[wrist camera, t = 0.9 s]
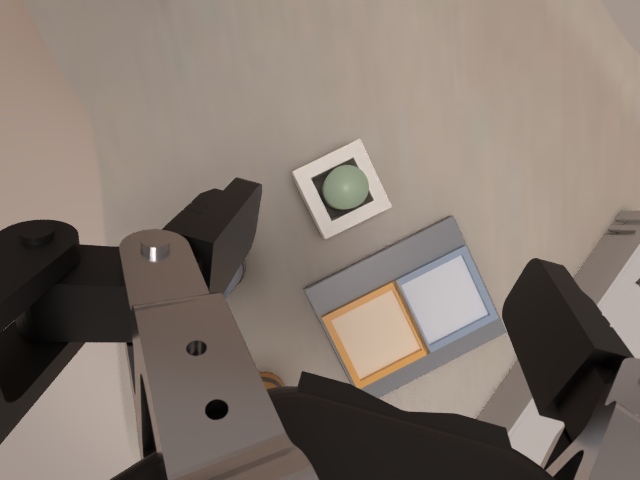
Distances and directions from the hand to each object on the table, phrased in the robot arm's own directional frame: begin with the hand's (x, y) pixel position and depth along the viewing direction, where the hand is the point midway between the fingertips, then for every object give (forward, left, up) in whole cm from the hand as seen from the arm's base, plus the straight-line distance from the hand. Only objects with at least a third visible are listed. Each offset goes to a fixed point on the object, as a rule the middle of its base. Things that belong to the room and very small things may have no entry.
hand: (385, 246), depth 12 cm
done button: (-2, +2, -22) cm, 22 cm away
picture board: (+10, +3, -24) cm, 26 cm away
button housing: (-2, +2, -24) cm, 24 cm away
